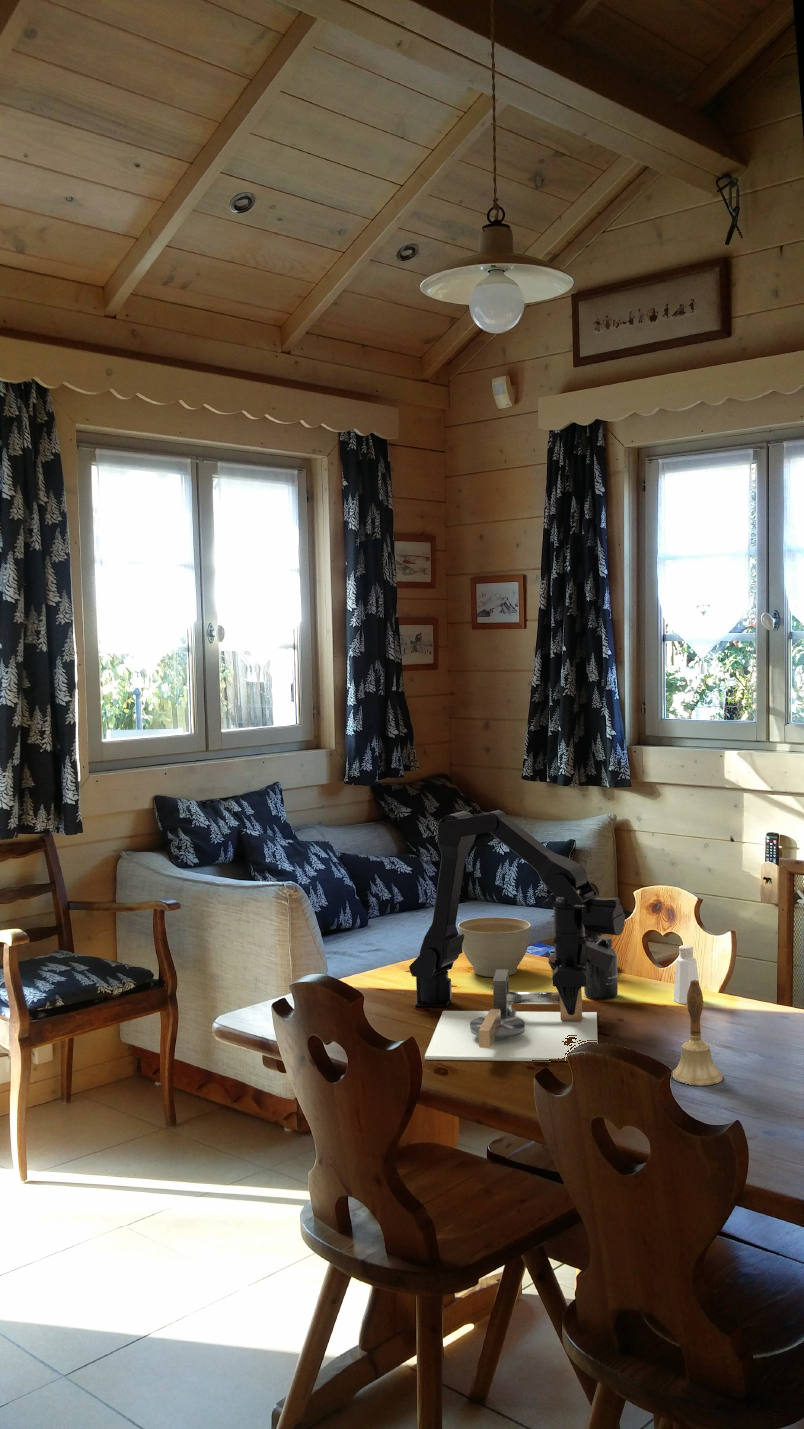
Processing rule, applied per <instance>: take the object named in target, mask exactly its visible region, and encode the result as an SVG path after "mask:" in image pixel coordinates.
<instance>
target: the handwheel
mask: <svg viewBox="0 0 804 1429" xmlns="http://www.w3.org/2000/svg"><path fill="white" fill-rule="evenodd" d="M488 1011H489V1013H488V1015H487V1016H482V1017H478V1018H476V1019H473V1020H472V1021H471V1022H470V1031H471V1033H473V1034H474V1035H477V1036H479V1048H490V1046H491V1044H492V1042H493V1040H494V1038H508V1037H513V1036H517V1035H520V1034H522V1033H523V1032H524V1031H525V1022H524V1021H523V1020H522V1019H520V1018H518V1017H514V1016H508V1015H501V1014H500V1009H493V1008H490V1009H489V1010H488Z"/></svg>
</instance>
